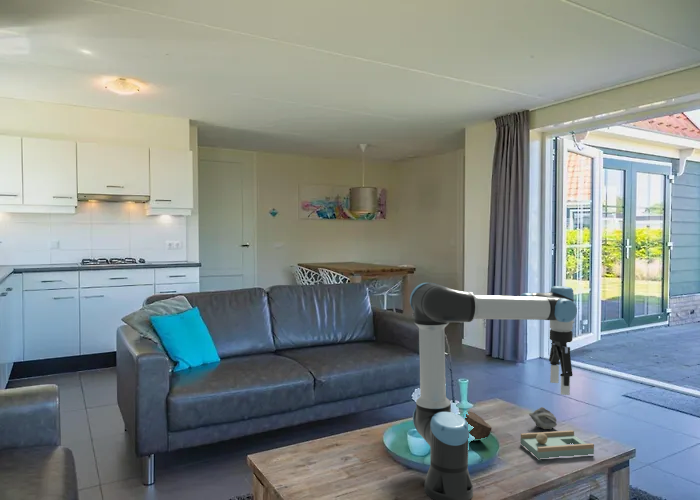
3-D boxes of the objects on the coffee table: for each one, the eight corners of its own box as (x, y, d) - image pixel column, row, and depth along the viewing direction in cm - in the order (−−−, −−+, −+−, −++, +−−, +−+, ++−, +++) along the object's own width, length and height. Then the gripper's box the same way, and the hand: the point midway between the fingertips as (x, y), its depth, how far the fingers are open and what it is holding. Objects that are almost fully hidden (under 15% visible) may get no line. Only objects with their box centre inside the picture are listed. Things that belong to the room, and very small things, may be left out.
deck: (538, 460, 179) (538, 448, 179) (520, 445, 192) (520, 433, 191) (593, 456, 182) (594, 444, 182) (572, 441, 195) (572, 430, 195)
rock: (497, 431, 193) (484, 421, 188) (482, 452, 192) (468, 443, 187) (476, 413, 204) (463, 404, 198) (461, 434, 203) (448, 425, 198)
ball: (539, 446, 184) (539, 435, 183) (533, 441, 188) (534, 431, 187) (549, 445, 184) (549, 435, 184) (543, 441, 188) (543, 430, 188)
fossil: (537, 433, 203) (537, 413, 203) (524, 424, 212) (525, 406, 212) (561, 431, 206) (561, 412, 205) (548, 422, 214) (548, 404, 214)
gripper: (583, 337, 164) (581, 400, 165) (562, 323, 189) (560, 378, 190) (560, 336, 166) (558, 399, 166) (541, 323, 190) (540, 377, 191)
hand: (559, 388), depth 178 cm, fingers open, 13 cm apart
